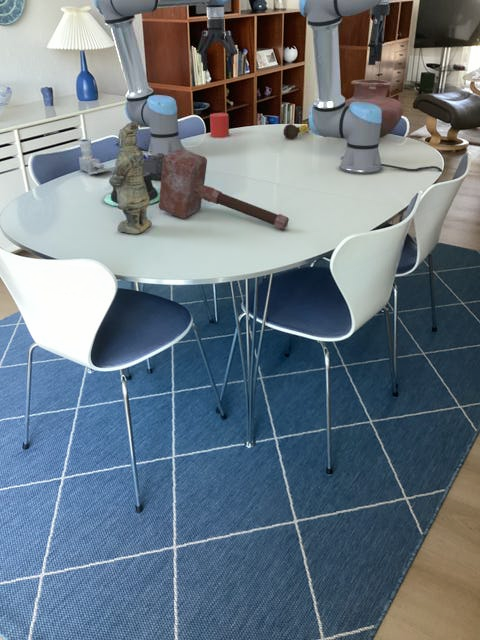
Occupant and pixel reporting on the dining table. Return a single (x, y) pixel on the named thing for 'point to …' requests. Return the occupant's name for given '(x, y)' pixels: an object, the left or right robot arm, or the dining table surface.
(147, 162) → the toy
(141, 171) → the statue
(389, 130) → the clay pot
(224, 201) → the sledgehammer
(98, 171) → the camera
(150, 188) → the chocolate cake
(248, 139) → the dining table surface
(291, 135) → the figurine
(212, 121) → the canister
